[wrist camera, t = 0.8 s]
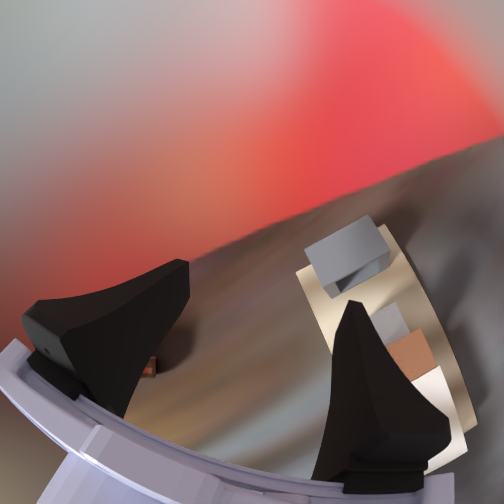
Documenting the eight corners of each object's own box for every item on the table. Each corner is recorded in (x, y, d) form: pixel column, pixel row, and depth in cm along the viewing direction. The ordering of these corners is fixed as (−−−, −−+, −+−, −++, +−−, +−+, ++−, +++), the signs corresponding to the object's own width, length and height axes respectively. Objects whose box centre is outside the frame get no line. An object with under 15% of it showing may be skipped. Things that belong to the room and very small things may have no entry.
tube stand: (475, 422, 15) (496, 436, 10) (379, 473, 17) (379, 499, 12) (384, 226, 25) (384, 198, 21) (297, 273, 27) (279, 256, 23)
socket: (388, 268, 23) (390, 249, 19) (331, 299, 25) (322, 287, 20) (370, 237, 25) (368, 214, 21) (316, 267, 26) (304, 249, 22)
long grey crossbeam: (446, 443, 14) (470, 473, 8) (415, 459, 15) (428, 496, 9) (392, 307, 21) (400, 288, 15) (361, 324, 22) (357, 312, 15)
